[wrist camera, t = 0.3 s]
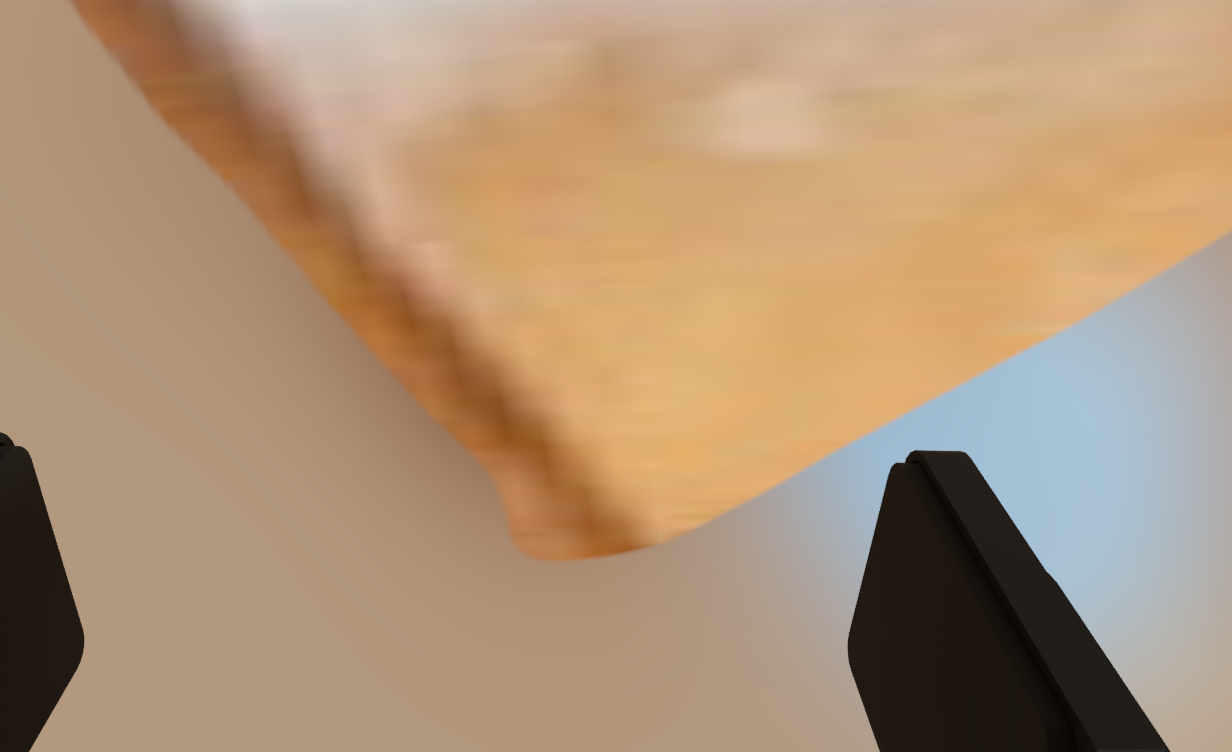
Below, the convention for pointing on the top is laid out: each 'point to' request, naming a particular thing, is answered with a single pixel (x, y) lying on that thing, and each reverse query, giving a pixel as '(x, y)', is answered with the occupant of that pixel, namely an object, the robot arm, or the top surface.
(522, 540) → the top surface
